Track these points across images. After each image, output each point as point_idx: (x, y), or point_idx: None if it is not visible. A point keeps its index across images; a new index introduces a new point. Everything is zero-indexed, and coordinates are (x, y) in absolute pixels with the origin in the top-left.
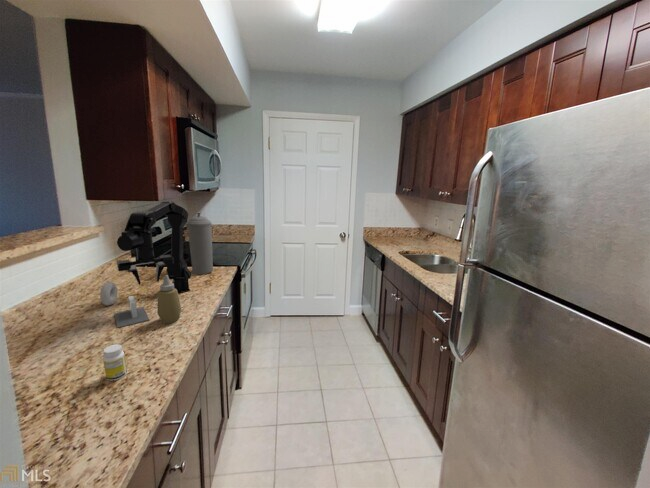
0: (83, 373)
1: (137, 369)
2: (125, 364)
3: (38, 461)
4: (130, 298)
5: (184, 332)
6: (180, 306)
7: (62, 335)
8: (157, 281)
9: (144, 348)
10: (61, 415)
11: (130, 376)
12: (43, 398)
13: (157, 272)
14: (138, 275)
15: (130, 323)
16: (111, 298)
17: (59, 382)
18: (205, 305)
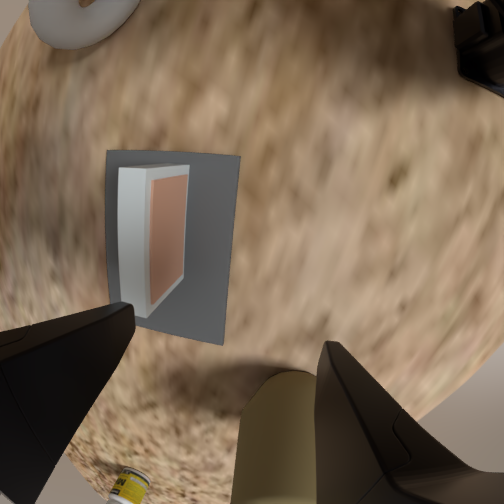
0: (88, 437)
1: (165, 485)
2: (144, 494)
3: (97, 491)
4: (126, 217)
5: None
6: None
7: (7, 239)
8: (320, 371)
9: (181, 459)
10: (93, 473)
11: (156, 487)
12: None
13: (325, 497)
14: (65, 448)
15: (151, 325)
16: (108, 11)
17: None
18: (466, 352)
